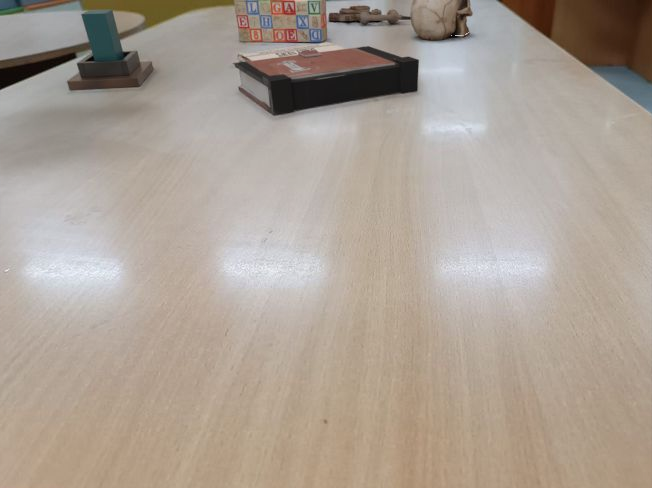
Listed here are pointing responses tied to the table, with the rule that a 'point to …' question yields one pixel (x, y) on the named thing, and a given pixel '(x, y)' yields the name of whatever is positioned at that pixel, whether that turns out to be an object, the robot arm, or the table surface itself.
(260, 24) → the stack of blocks
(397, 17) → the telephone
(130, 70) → the lower pad
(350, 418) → the table surface
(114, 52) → the teal rectangular block
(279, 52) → the newspaper
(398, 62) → the book
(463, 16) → the skull
